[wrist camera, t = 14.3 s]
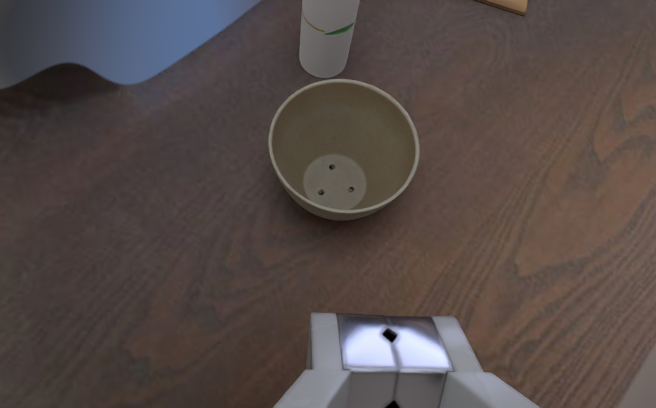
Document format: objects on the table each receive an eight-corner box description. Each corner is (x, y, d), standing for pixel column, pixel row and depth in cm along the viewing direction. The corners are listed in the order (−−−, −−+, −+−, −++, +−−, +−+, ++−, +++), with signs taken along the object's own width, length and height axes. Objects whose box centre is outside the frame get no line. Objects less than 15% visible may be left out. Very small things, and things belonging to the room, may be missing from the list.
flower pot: (367, 118, 39) (385, 64, 32) (413, 222, 36) (444, 187, 29) (255, 147, 37) (249, 96, 30) (293, 261, 34) (296, 232, 27)
